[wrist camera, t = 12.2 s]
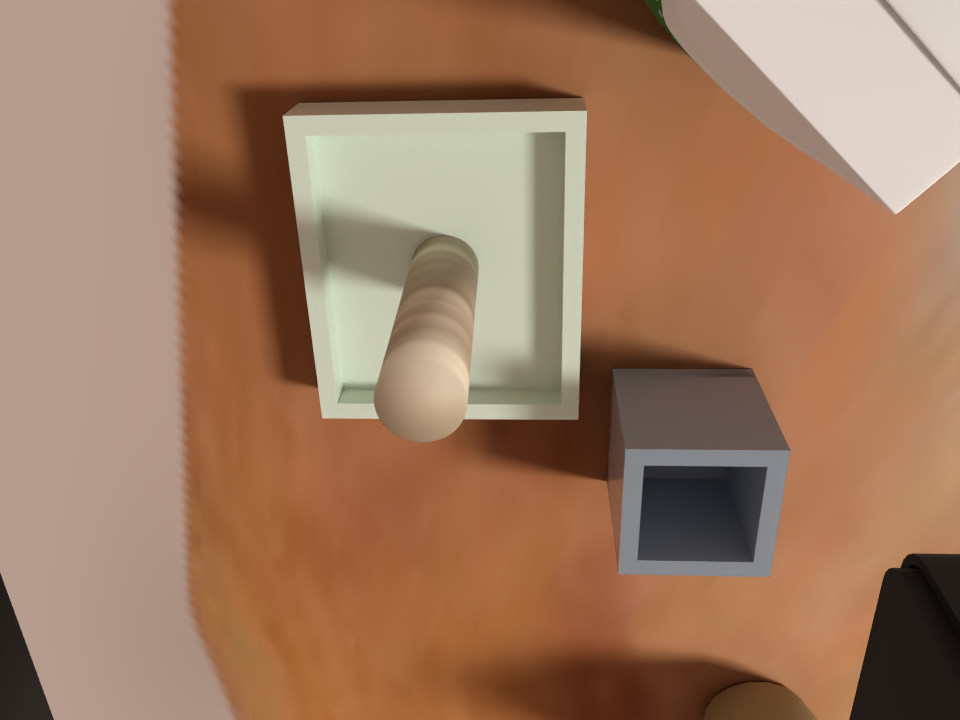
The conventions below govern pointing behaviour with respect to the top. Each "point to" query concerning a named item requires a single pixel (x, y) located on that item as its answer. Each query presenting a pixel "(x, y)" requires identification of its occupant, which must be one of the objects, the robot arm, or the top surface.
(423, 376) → the dowel
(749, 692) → the squeeze bottle
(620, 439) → the holder
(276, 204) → the top surface
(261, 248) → the top surface
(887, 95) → the milk carton
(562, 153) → the tray
